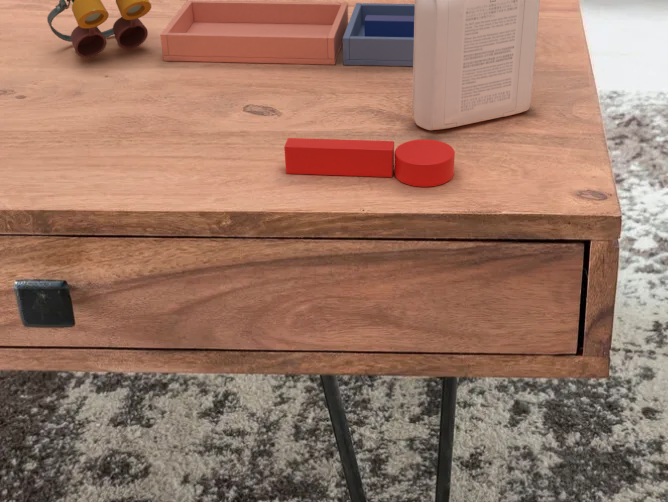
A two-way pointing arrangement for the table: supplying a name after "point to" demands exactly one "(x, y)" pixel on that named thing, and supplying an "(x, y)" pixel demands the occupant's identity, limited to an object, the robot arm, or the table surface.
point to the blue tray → (377, 38)
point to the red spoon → (372, 159)
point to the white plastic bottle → (472, 60)
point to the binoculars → (93, 14)
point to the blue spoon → (389, 26)
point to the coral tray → (256, 32)
